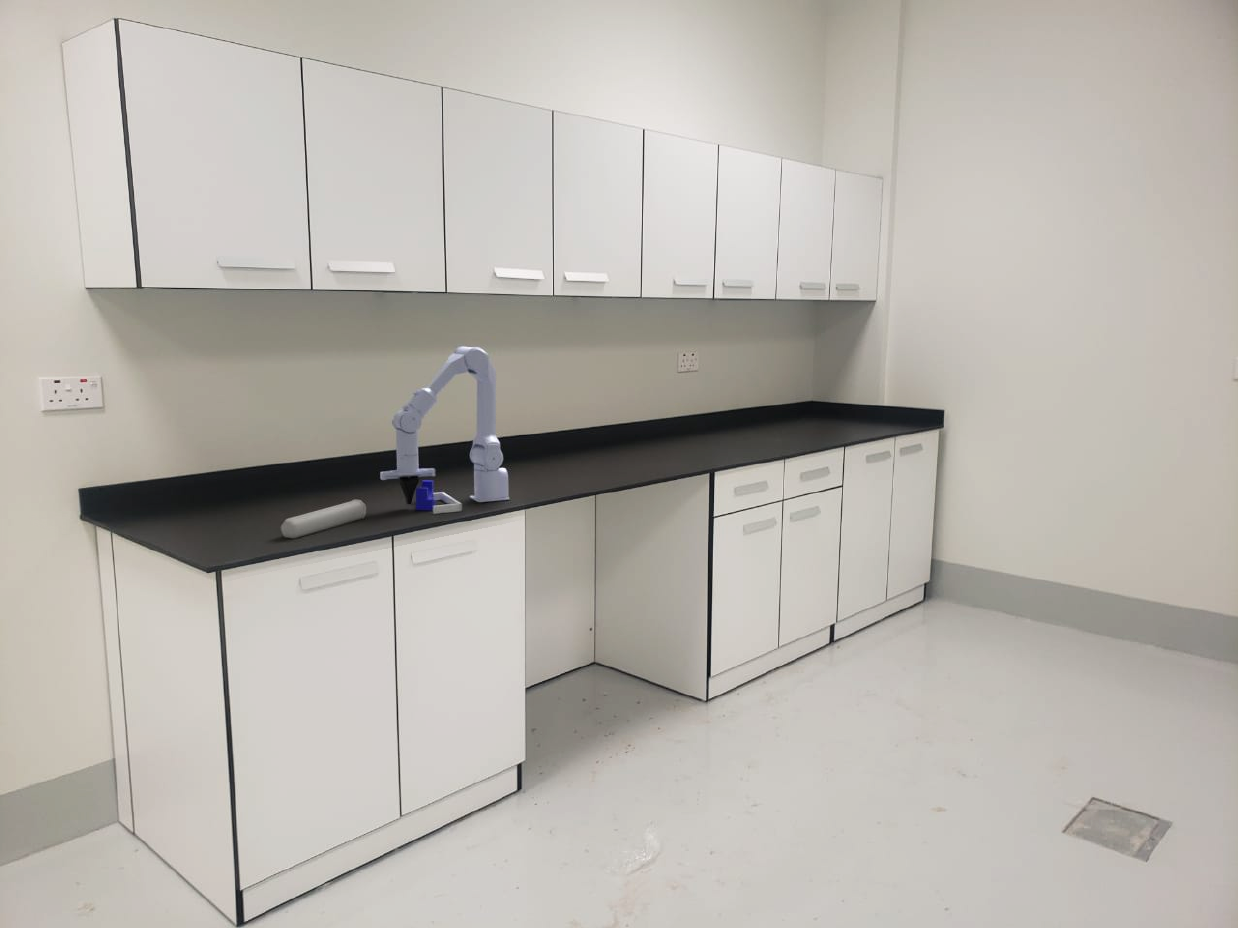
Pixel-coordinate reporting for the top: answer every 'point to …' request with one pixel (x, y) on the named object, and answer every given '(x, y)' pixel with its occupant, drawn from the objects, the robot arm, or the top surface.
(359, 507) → the tube
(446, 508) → the bracket
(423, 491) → the cable clip
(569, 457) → the top surface
